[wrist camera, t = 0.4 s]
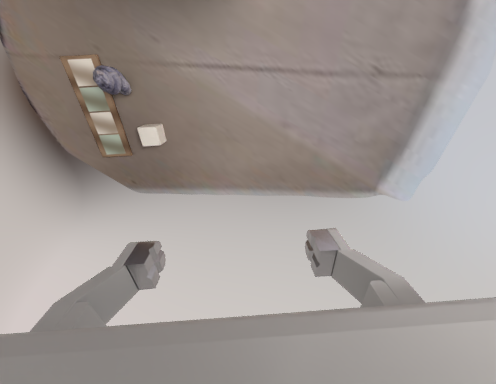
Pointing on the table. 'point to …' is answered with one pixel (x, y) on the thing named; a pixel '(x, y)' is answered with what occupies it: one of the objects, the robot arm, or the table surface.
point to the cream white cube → (152, 134)
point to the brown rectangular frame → (97, 106)
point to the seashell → (111, 80)
